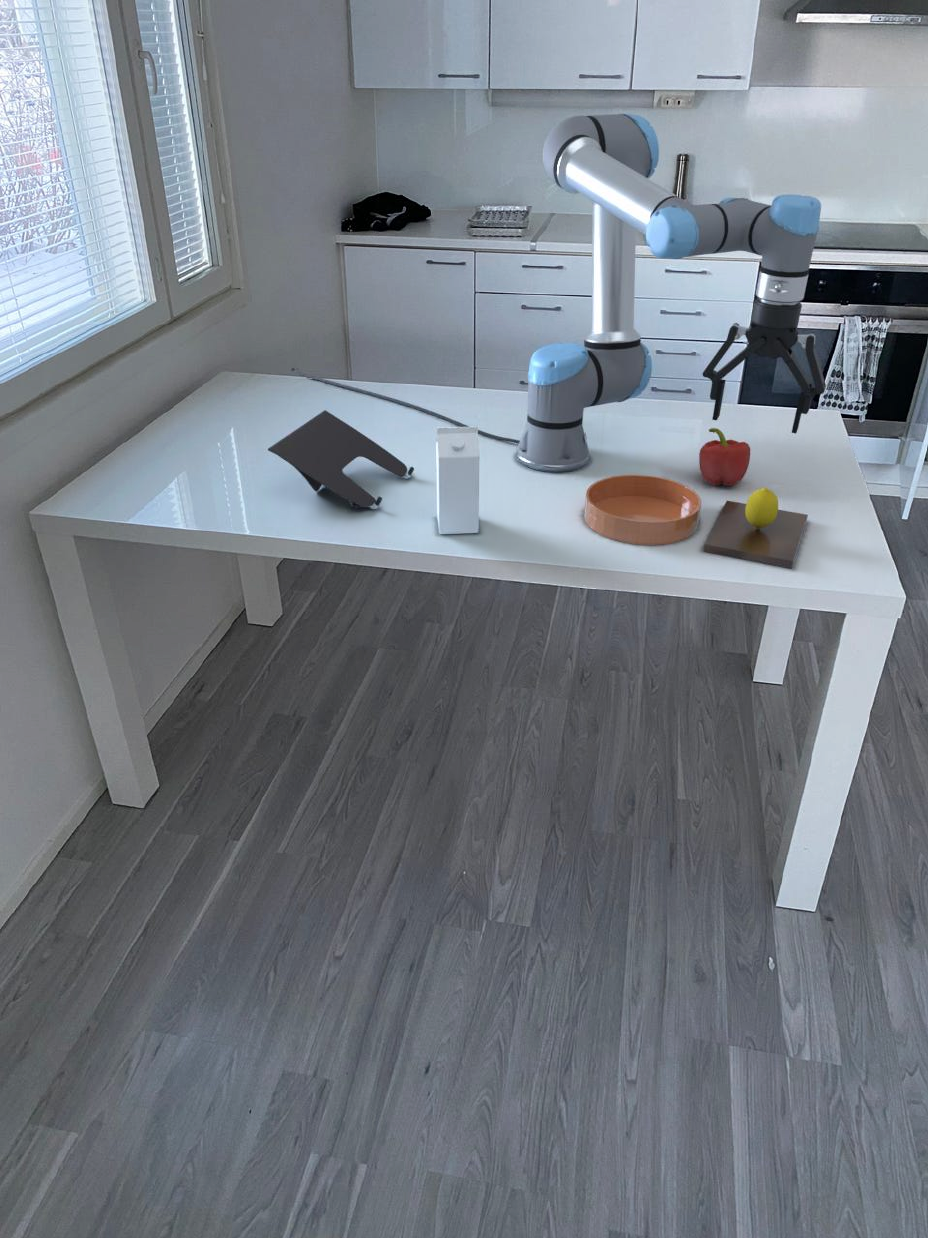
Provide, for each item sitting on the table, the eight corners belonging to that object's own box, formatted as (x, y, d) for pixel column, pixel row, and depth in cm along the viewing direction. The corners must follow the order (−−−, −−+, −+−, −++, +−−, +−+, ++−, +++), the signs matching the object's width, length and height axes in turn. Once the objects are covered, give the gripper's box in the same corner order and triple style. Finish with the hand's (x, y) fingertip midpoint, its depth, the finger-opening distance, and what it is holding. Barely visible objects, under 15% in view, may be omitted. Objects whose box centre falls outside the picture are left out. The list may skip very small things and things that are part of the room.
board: (703, 551, 164) (704, 543, 164) (725, 507, 180) (726, 500, 179) (791, 568, 159) (793, 561, 159) (806, 521, 175) (808, 514, 174)
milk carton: (437, 518, 175) (435, 420, 165) (474, 516, 176) (475, 419, 166) (439, 535, 169) (438, 435, 159) (478, 533, 170) (479, 434, 160)
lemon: (775, 537, 166) (783, 495, 162) (742, 534, 167) (750, 493, 163) (772, 523, 171) (780, 483, 166) (741, 520, 172) (748, 480, 167)
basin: (569, 531, 171) (570, 509, 168) (603, 488, 187) (605, 467, 185) (683, 554, 164) (686, 531, 161) (708, 507, 180) (711, 485, 178)
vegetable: (682, 475, 193) (689, 429, 188) (724, 468, 197) (731, 422, 191) (714, 495, 185) (722, 447, 179) (757, 487, 188) (766, 440, 183)
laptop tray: (356, 542, 179) (373, 506, 174) (256, 477, 180) (271, 439, 174) (404, 495, 198) (421, 462, 192) (313, 436, 198) (328, 401, 193)
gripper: (697, 295, 154) (679, 419, 165) (857, 314, 145) (826, 443, 157) (707, 285, 159) (689, 405, 171) (861, 303, 151) (831, 428, 162)
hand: (754, 424), depth 164 cm, fingers open, 13 cm apart
